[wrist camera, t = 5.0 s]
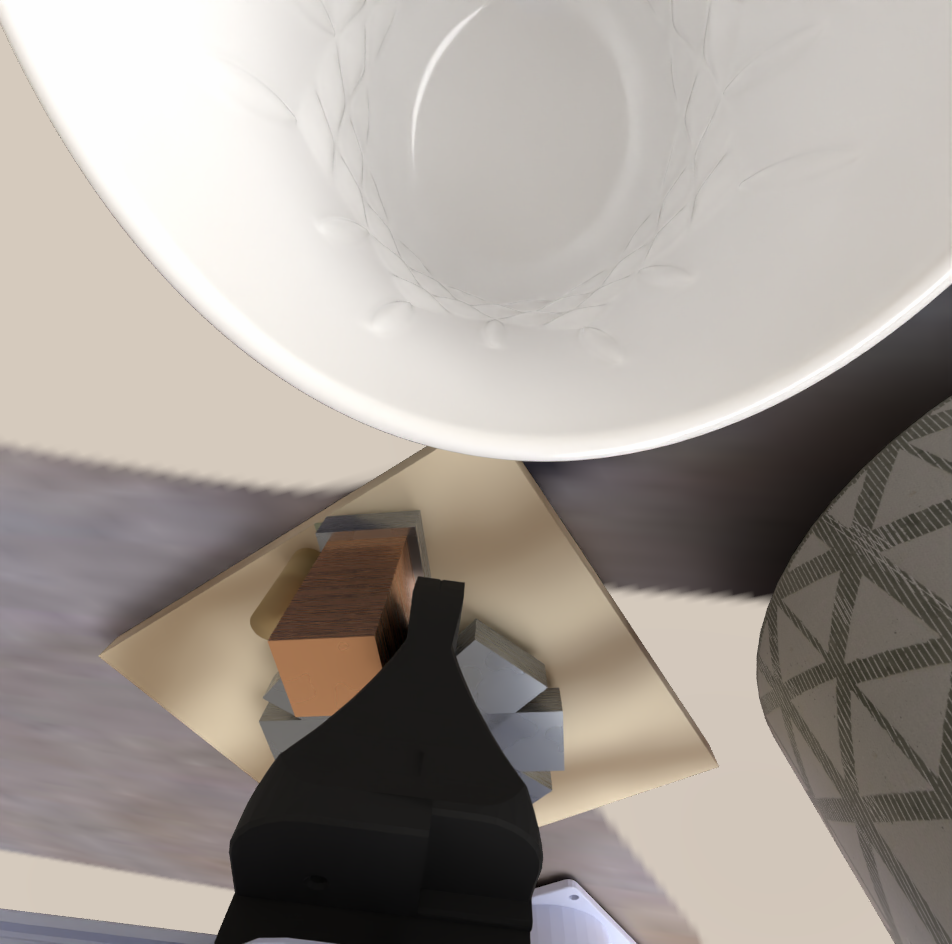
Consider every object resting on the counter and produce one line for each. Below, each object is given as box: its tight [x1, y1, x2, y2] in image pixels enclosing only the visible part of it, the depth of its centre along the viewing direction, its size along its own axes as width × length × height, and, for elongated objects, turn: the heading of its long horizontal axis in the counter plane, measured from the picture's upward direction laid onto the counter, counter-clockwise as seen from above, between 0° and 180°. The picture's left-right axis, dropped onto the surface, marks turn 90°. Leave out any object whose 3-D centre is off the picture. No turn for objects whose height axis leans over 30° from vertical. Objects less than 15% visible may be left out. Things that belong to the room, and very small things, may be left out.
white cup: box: [0, 0, 952, 461], centre depth 7 cm, size 8×8×10 cm
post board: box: [99, 446, 719, 827], centre depth 17 cm, size 18×18×6 cm
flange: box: [259, 510, 565, 804], centre depth 15 cm, size 15×11×5 cm
